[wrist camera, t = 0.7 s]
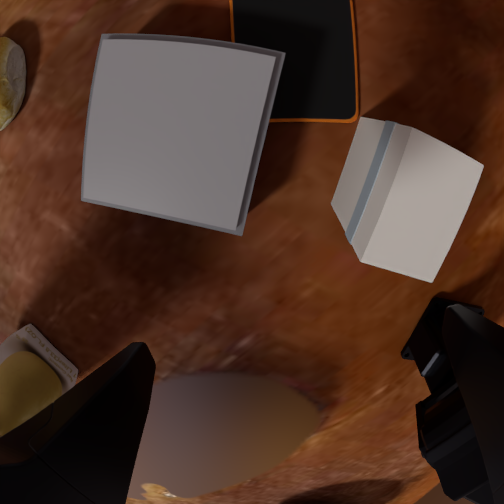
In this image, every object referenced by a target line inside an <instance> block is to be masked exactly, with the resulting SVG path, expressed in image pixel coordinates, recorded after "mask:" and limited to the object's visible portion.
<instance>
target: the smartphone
mask: <svg viewBox="0 0 504 504" xmlns="http://www.w3.org/2000/svg"><path fill="white" fill-rule="evenodd" d="M229 4H230V23H231V41H232V43H239V44H244V45H250V46H255V47H261V48H265V49H270V50H275V51H279V52H284V53H286V54H285V58H284V62H283V66H282V70H281V74H280V78H279V82H278V86H277V90H276V95H275V99H274V103H273V107H272V111H271V115H270V119H269V122H338V123H351V122H354V121H355V120H356V119H357V118H358V114H359V108H358V70H357V50H356V35H355V22H354V11H353V1H352V0H229Z"/></svg>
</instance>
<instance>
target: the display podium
mask: <svg viewBox="0 0 504 504" xmlns="http://www.w3.org/2000/svg"><path fill="white" fill-rule="evenodd" d="M285 54H286V53H284V52H279V51H275V50H270V49H265V48H261V47H255V46H250V45H244V44H239V43H232V42H226V41H219V40H212V39H203V38H194V37H184V36H172V35H155V34H102V36H101V40H100V44H99V49H98V54H97V58H96V63H95V69H94V74H93V80H92V86H91V92H90V99H89V106H88V114H87V122H86V131H85V141H84V153H83V167H82V189H81V201H85V202H89V203H94V204H99V205H103V206H108V207H113V208H117V209H122V210H127V211H131V212H136V213H141V214H145V215H150V216H154V217H159V218H163V219H168V220H173V221H177V222H182V223H186V224H191V225H195V226H200V227H204V228H209V229H213V230H217V231H222V232H226V233H231V234H235V235H239V236H242V234H243V230H244V226H245V221H246V217H247V213H248V208H249V204H250V200H251V195H252V191H253V187H254V183H255V178H256V174H257V170H258V166H259V161H260V157H261V153H262V149H263V144H264V140H265V136H266V132H267V128H268V124H269V119H270V115H271V111H272V107H273V103H274V99H275V95H276V90H277V86H278V82H279V78H280V74H281V70H282V66H283V62H284V58H285Z"/></svg>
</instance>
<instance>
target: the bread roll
mask: <svg viewBox="0 0 504 504" xmlns="http://www.w3.org/2000/svg"><path fill="white" fill-rule="evenodd" d="M25 87H26V63H25V55H24V52H23V49H22V48H21V47H20V46H19V45H17V44H16V43H15V42H14V41H12V40H11V39H9V38H7V37H0V131H1V130H3V129H4V128H5V127H6V126H7V125H8V124H9V123H10V122H11V121H12V120H13V119H14V117H15V115H16V114H17V112H18V111H19V109H20V106H21V104H22V101H23V98H24V95H25Z"/></svg>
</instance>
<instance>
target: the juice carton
mask: <svg viewBox="0 0 504 504" xmlns="http://www.w3.org/2000/svg"><path fill="white" fill-rule="evenodd" d="M77 375H78V369H77V368H76V367H75V366H74V365H73V364H72V363H71V362H70V361H69V360H68V359H67V358H66V357H64V356H63V355H62V354H61V353H60V352H59V351H58V350H57V349H56V348H55V347H54V346H53V345H52V344H51V343H50V342H49V341H48V340H47V339H46V338H45V337H44V336H43V335H42V334H41V333H40V332H39V331H38V330H37V329H36V328H35V327H34V326H33V325H32V324H28V325H26V326H24V327H23V328H21V329H20V330H18V331H16V332H15V333H13V334H12V335H11V336H9V337H8V338H7V339H6V340H5V341H4V342H3V343H2V344H1V345H0V437H1V436H3V435H5V434H6V433H8V432H9V431H11V430H13V429H14V428H16V427H17V426H19V425H21V424H22V423H24V422H25V421H27V420H28V419H30V418H31V417H33V416H34V415H36V414H37V413H39V412H40V411H41V410H43V409H44V408H45V407H47V406H48V405H49V404H51V403H52V402H53V403H54V401H55V400H56V399H58V398H59V397H60V396H62V395H63V394H64V393H66V392H67V391H68V390H70V389H71V388H72V387H74V385H75V382H76V379H77Z"/></svg>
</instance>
